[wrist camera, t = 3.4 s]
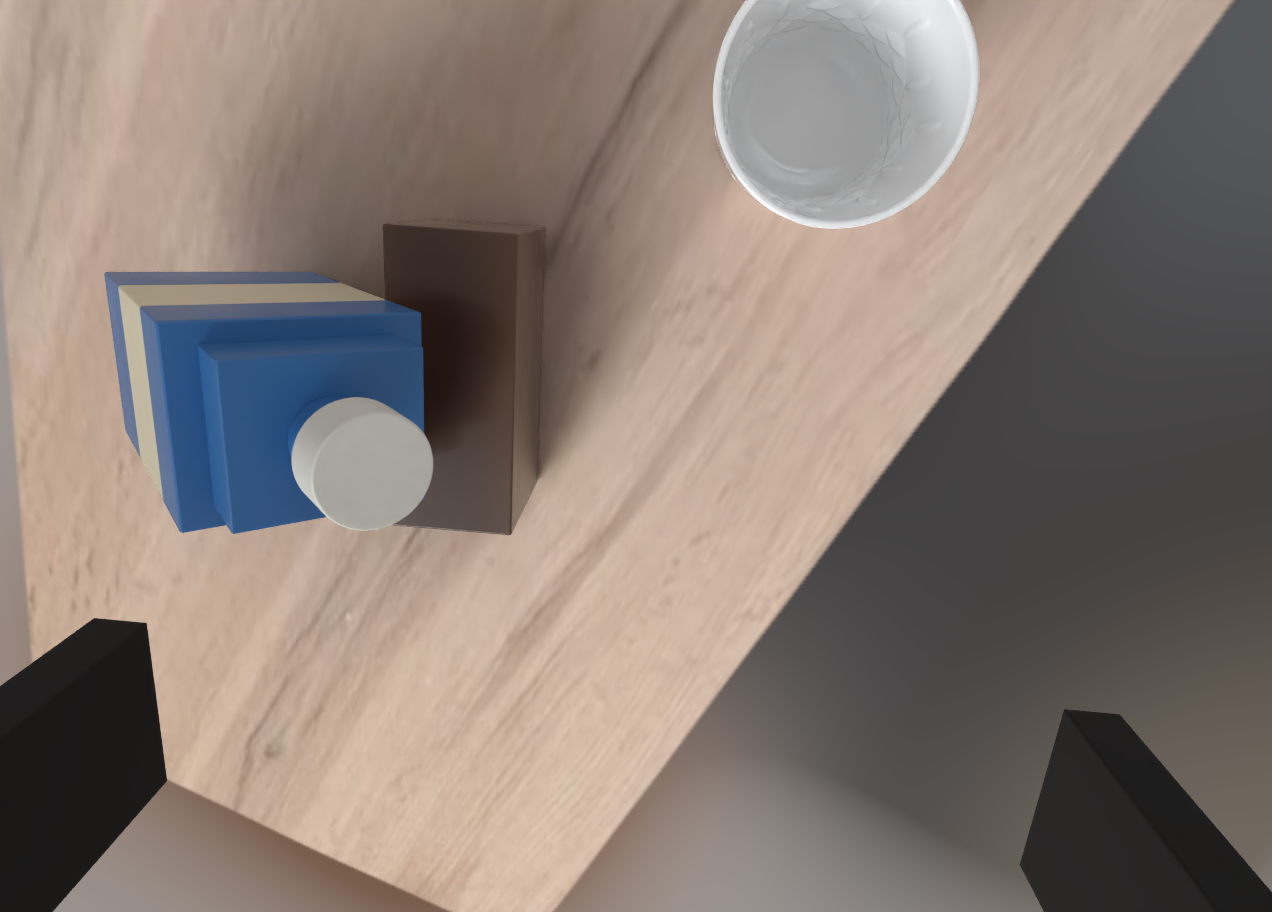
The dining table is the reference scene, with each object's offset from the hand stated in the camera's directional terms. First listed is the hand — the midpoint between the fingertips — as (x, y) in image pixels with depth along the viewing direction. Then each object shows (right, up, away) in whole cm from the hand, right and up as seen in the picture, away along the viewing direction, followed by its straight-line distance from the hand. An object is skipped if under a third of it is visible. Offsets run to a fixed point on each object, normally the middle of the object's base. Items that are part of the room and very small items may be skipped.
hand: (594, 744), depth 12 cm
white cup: (+7, +18, +22) cm, 30 cm away
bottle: (-12, +9, +26) cm, 30 cm away
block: (-6, +9, +26) cm, 28 cm away
